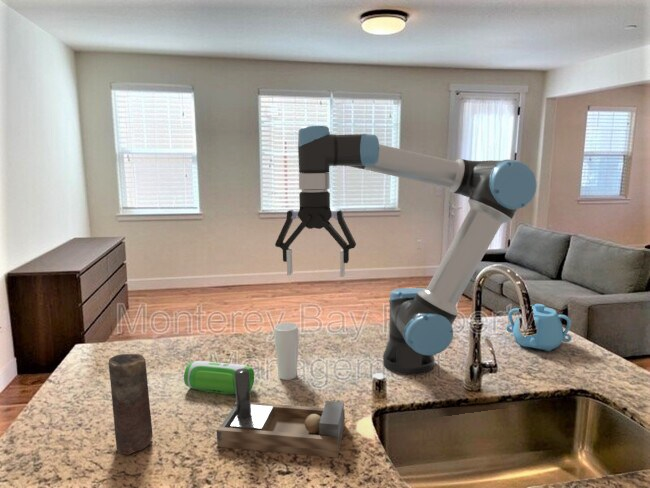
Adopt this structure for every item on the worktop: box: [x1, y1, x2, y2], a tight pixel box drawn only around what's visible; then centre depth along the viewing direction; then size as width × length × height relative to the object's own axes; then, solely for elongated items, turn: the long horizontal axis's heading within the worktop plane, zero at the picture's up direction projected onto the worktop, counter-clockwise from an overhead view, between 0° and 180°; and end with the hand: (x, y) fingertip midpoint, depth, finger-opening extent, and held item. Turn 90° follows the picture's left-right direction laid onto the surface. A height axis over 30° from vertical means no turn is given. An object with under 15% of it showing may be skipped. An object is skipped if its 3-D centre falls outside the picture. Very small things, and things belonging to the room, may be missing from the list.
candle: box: [108, 353, 154, 455], centre depth 97 cm, size 8×7×20 cm
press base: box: [216, 400, 346, 459], centre depth 101 cm, size 26×12×6 cm, turn 81°
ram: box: [230, 368, 274, 431], centre depth 101 cm, size 7×9×13 cm
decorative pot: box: [506, 303, 572, 352], centre depth 149 cm, size 16×16×14 cm
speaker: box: [183, 360, 255, 395], centre depth 122 cm, size 18×7×8 cm, turn 76°
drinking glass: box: [273, 321, 300, 381], centre depth 128 cm, size 7×7×15 cm
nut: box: [305, 414, 321, 433], centre depth 100 cm, size 4×4×4 cm
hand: (315, 274), depth 116 cm, fingers open, 13 cm apart
